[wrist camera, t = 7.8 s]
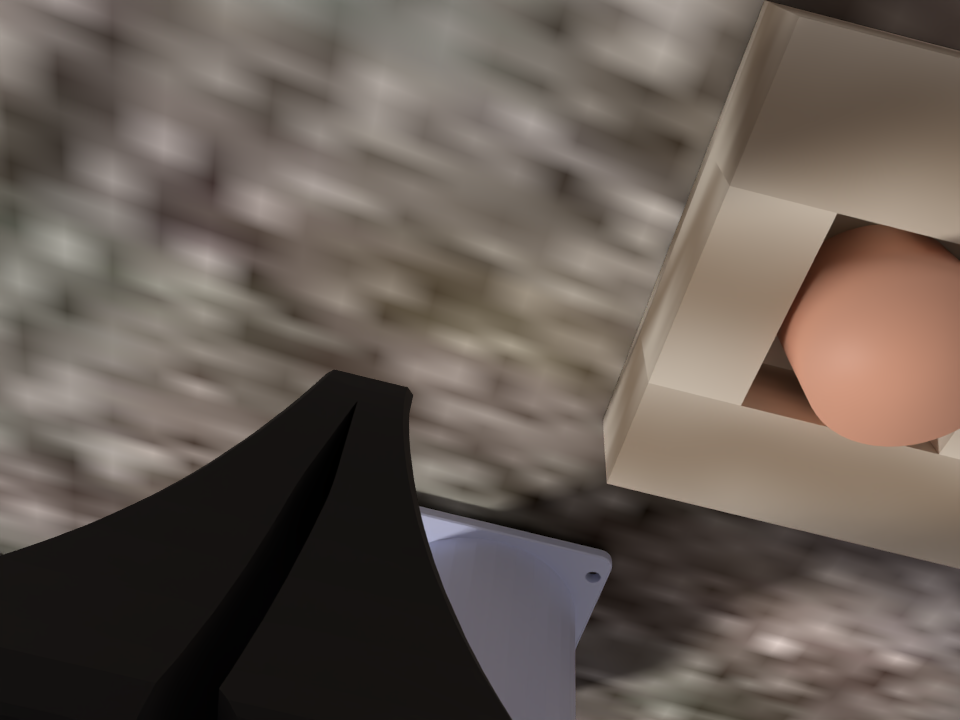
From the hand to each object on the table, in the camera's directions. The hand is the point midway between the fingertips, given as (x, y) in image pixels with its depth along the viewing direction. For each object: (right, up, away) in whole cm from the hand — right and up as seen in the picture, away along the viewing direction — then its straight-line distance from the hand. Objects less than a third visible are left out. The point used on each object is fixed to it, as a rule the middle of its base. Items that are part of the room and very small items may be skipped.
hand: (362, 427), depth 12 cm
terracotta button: (+12, +2, +7) cm, 14 cm away
